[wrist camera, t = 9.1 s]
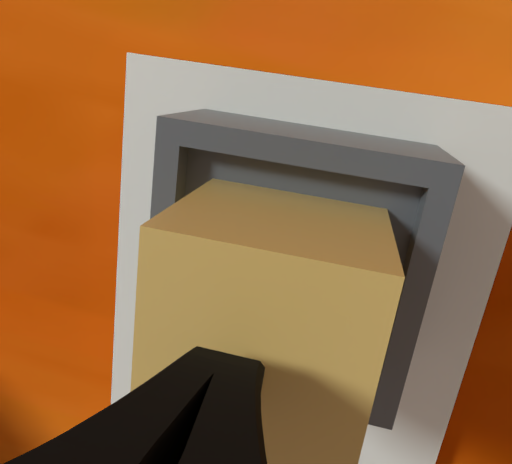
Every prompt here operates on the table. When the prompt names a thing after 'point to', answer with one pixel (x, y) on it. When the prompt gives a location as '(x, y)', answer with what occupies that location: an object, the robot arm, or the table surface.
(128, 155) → the build board
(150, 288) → the ochre block
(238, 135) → the charcoal base block
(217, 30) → the table surface
